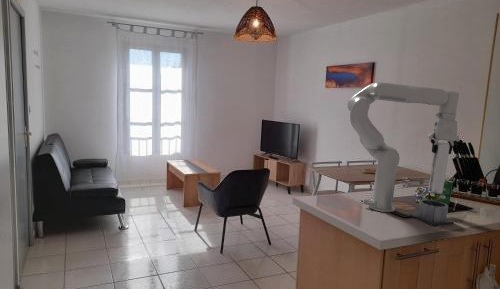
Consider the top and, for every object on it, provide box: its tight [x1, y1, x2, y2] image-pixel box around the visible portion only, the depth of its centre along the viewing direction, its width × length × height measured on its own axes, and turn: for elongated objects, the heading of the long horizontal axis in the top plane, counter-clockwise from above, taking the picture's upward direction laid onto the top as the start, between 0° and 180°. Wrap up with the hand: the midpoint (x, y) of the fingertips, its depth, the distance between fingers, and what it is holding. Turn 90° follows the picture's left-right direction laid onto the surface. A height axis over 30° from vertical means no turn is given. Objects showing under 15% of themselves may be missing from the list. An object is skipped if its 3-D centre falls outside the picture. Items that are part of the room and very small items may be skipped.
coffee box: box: [434, 179, 454, 206], centre depth 198 cm, size 8×3×13 cm, turn 58°
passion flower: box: [413, 185, 440, 203], centre depth 196 cm, size 11×11×12 cm
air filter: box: [428, 141, 450, 194], centre depth 178 cm, size 6×6×25 cm
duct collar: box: [409, 199, 455, 227], centre depth 168 cm, size 13×13×8 cm
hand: (441, 152), depth 177 cm, fingers closed on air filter, 6 cm apart
